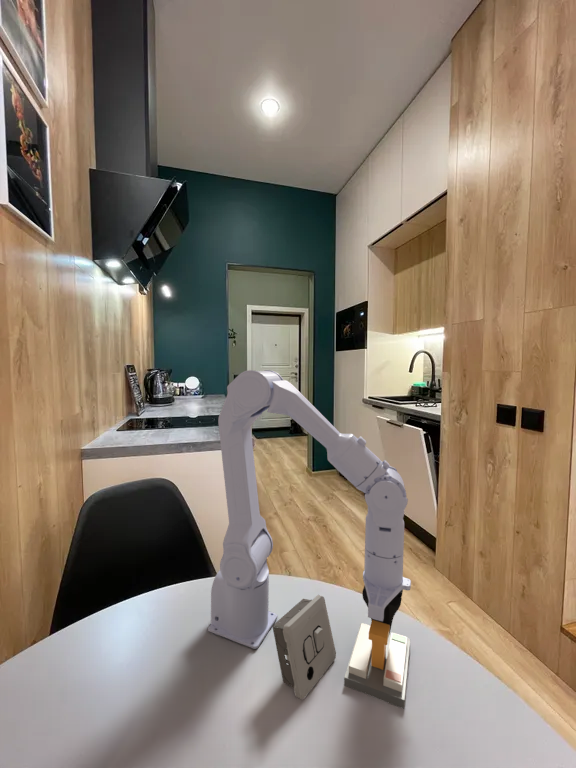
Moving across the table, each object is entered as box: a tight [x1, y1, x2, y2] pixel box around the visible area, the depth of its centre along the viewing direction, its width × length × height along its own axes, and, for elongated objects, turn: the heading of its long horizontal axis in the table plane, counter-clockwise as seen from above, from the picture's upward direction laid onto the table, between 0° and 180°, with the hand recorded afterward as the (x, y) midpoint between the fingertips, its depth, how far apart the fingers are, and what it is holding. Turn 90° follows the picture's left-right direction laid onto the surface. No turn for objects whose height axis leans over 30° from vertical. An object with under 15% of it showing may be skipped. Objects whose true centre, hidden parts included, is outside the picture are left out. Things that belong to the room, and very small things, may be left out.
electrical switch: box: [272, 594, 337, 700], centre depth 50 cm, size 9×5×9 cm, turn 141°
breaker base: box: [343, 622, 411, 709], centre depth 51 cm, size 8×11×2 cm
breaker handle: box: [369, 620, 391, 670], centre depth 50 cm, size 3×3×5 cm
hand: (381, 633), depth 53 cm, fingers closed
